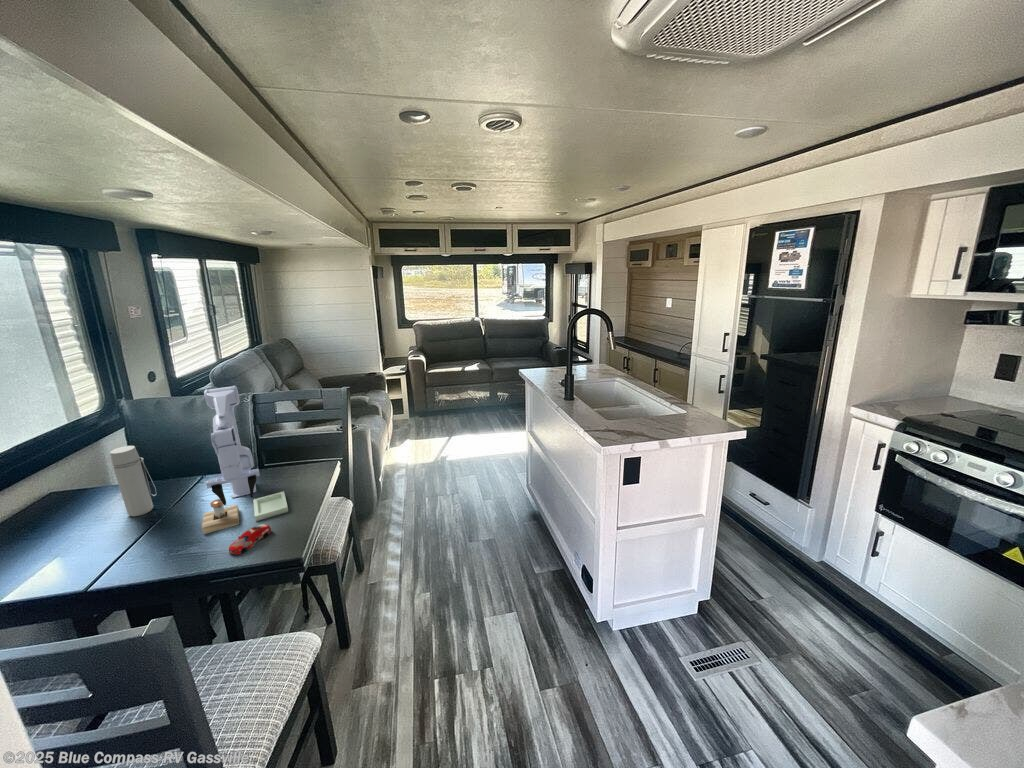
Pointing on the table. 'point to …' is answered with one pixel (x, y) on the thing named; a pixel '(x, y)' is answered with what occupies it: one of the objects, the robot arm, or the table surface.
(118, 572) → the table surface
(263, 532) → the race car
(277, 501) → the tray
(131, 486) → the water bottle
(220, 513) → the pin
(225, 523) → the socket block
